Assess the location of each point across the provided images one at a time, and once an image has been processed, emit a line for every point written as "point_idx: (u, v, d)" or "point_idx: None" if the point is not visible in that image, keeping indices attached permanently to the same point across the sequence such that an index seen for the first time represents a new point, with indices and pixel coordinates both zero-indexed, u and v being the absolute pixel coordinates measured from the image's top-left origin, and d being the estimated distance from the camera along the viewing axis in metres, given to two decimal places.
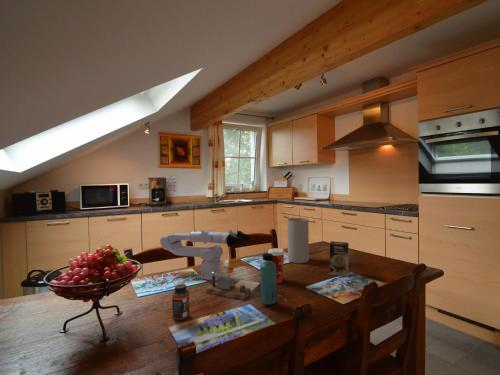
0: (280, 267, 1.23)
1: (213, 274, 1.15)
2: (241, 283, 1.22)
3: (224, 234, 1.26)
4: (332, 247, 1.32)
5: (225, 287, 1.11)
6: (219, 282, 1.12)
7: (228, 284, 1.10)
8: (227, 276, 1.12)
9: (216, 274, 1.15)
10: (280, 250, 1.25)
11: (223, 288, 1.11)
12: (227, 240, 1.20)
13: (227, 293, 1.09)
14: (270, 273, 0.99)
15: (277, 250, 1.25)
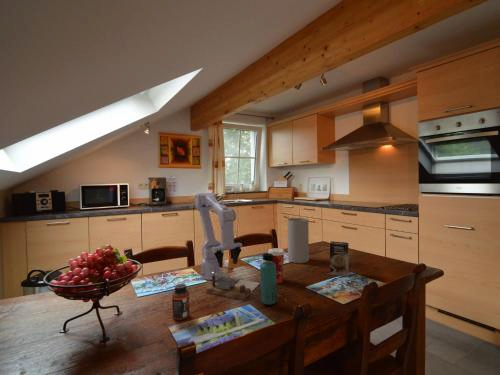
0: (280, 267, 1.23)
1: (213, 274, 1.15)
2: (241, 283, 1.22)
3: (226, 242, 1.15)
4: (332, 247, 1.32)
5: (225, 287, 1.11)
6: (219, 282, 1.12)
7: (228, 284, 1.10)
8: (227, 276, 1.12)
9: (216, 274, 1.15)
10: (280, 250, 1.25)
11: (223, 288, 1.11)
12: (216, 252, 1.14)
13: (227, 293, 1.09)
14: (270, 273, 0.99)
15: (277, 250, 1.25)
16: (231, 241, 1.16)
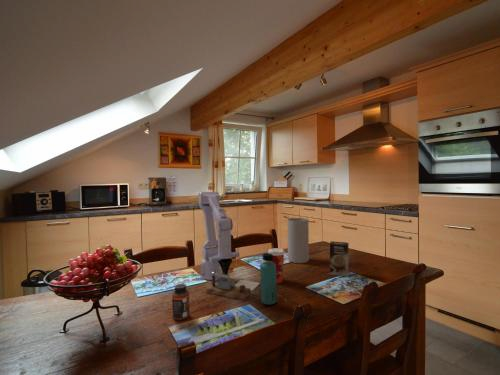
0: (280, 267, 1.23)
1: (213, 274, 1.15)
2: (241, 283, 1.22)
3: (223, 252, 1.13)
4: (332, 247, 1.32)
5: (225, 287, 1.11)
6: (219, 282, 1.12)
7: (228, 284, 1.10)
8: (227, 276, 1.12)
9: (216, 274, 1.15)
10: (280, 250, 1.25)
11: (223, 288, 1.11)
12: (220, 261, 1.14)
13: (227, 293, 1.09)
14: (270, 273, 0.99)
15: (277, 250, 1.25)
16: (228, 251, 1.13)
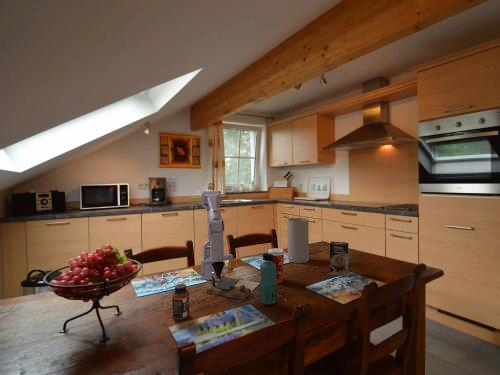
0: (280, 267, 1.23)
1: (211, 274, 1.15)
2: (241, 283, 1.22)
3: (215, 255, 1.09)
4: (332, 247, 1.32)
5: (225, 287, 1.11)
6: (219, 282, 1.12)
7: (228, 284, 1.10)
8: (216, 279, 1.09)
9: (213, 275, 1.14)
10: (280, 250, 1.25)
11: (223, 288, 1.11)
12: (213, 264, 1.10)
13: (227, 293, 1.09)
14: (270, 273, 0.99)
15: (277, 250, 1.25)
16: (221, 253, 1.09)
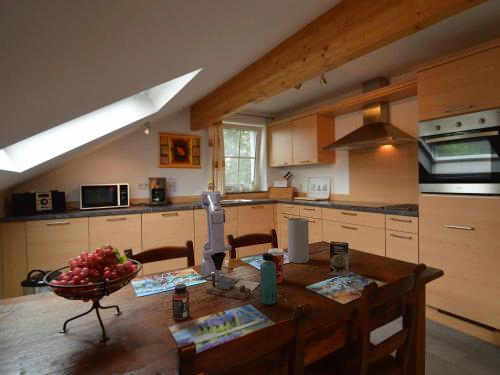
0: (280, 267, 1.23)
1: None
2: (241, 283, 1.22)
3: (217, 246, 1.09)
4: (332, 247, 1.32)
5: (225, 287, 1.11)
6: (219, 282, 1.12)
7: (228, 284, 1.10)
8: (199, 278, 1.11)
9: None
10: (280, 250, 1.25)
11: (223, 288, 1.11)
12: (213, 255, 1.10)
13: (227, 293, 1.09)
14: (270, 273, 0.99)
15: (277, 250, 1.25)
16: (223, 244, 1.11)
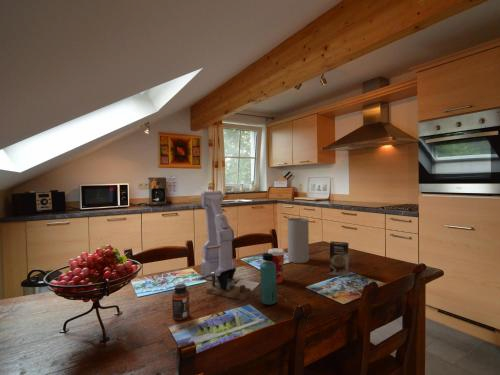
0: (280, 267, 1.23)
1: None
2: (241, 283, 1.22)
3: (227, 263, 1.11)
4: (332, 247, 1.32)
5: None
6: None
7: (228, 284, 1.10)
8: None
9: None
10: (280, 250, 1.25)
11: None
12: (220, 274, 1.09)
13: (227, 293, 1.09)
14: (270, 273, 0.99)
15: (277, 250, 1.25)
16: (231, 261, 1.12)
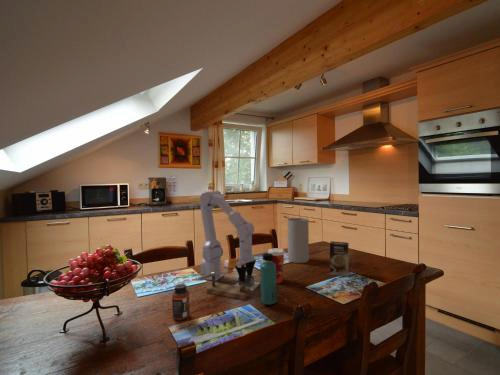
0: (280, 267, 1.23)
1: None
2: None
3: (248, 256, 1.18)
4: (332, 247, 1.32)
5: (246, 284, 1.18)
6: None
7: (248, 281, 1.17)
8: None
9: None
10: (280, 250, 1.25)
11: None
12: None
13: (227, 293, 1.09)
14: (270, 273, 0.99)
15: (277, 250, 1.25)
16: (251, 254, 1.19)
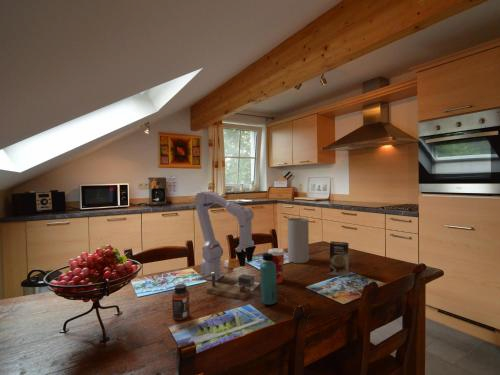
0: (280, 267, 1.23)
1: None
2: None
3: (247, 241, 1.17)
4: (332, 247, 1.32)
5: (246, 284, 1.18)
6: (240, 279, 1.19)
7: (248, 281, 1.17)
8: None
9: None
10: (280, 250, 1.25)
11: None
12: (240, 252, 1.14)
13: (227, 293, 1.09)
14: (270, 273, 0.99)
15: (277, 250, 1.25)
16: (251, 239, 1.19)
